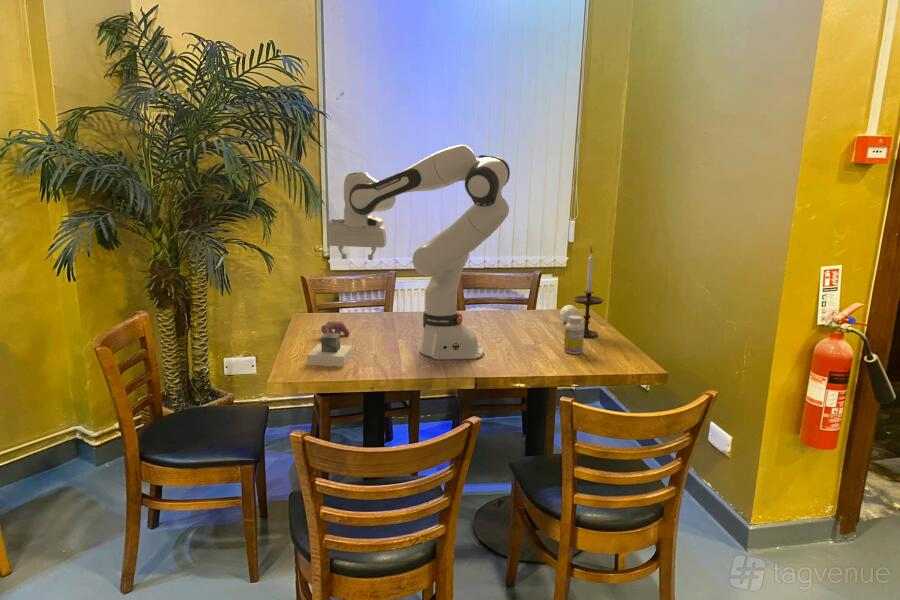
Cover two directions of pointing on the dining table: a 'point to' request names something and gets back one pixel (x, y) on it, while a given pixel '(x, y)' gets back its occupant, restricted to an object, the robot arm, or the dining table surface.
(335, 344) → the slate cube
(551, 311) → the dining table surface
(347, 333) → the video game controller
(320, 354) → the cream block
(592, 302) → the candlestick
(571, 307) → the geometric ball
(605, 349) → the dining table surface
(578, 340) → the supplement bottle
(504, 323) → the dining table surface
